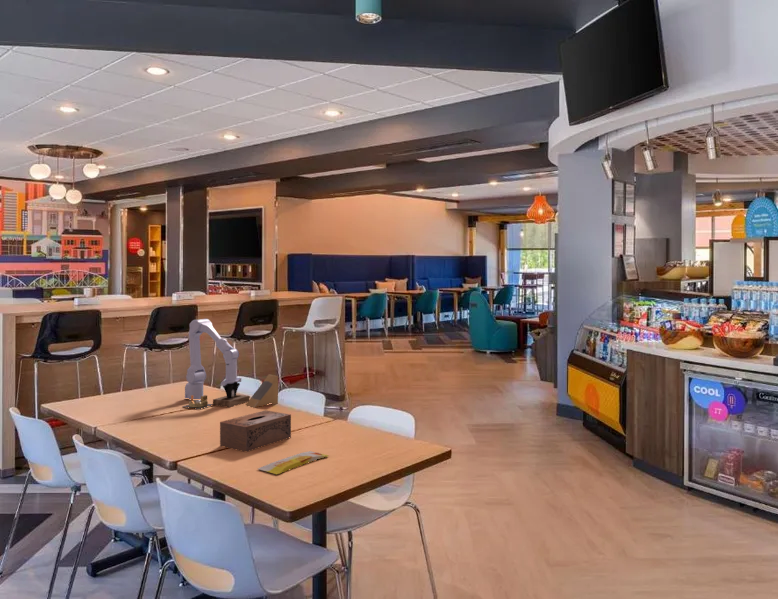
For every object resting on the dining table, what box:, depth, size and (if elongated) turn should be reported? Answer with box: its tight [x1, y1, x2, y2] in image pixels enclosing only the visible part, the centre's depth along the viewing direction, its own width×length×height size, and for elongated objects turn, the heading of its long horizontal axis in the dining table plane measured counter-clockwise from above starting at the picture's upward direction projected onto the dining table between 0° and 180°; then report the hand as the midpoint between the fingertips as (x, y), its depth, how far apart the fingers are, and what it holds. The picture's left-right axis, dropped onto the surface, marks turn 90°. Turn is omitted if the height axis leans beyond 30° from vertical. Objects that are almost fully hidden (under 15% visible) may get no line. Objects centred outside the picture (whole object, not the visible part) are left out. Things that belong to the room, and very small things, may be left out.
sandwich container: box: [245, 373, 279, 408], centre depth 325 cm, size 9×15×15 cm, turn 136°
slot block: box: [212, 394, 250, 408], centre depth 328 cm, size 11×16×3 cm
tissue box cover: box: [219, 409, 292, 452], centre depth 254 cm, size 26×14×10 cm, turn 147°
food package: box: [257, 450, 330, 475], centre depth 226 cm, size 27×2×10 cm
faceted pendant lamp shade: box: [188, 394, 209, 407], centre depth 320 cm, size 9×10×4 cm
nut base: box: [182, 395, 215, 410], centre depth 319 cm, size 12×11×5 cm
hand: (231, 397), depth 328 cm, fingers closed on pin, 3 cm apart
